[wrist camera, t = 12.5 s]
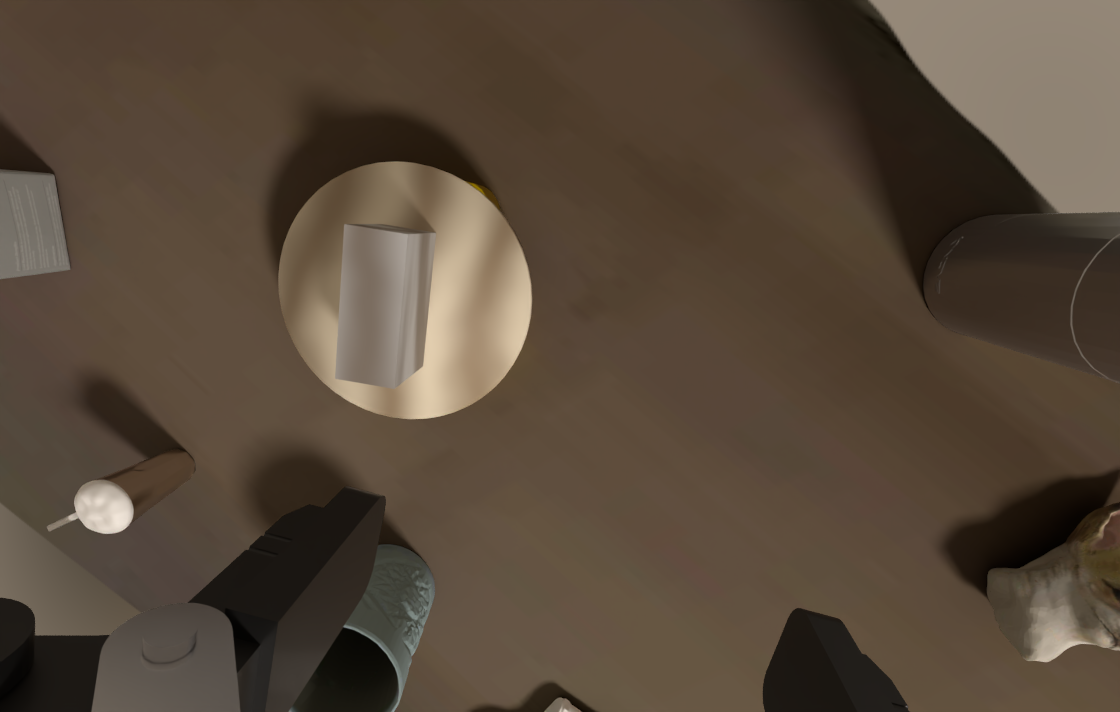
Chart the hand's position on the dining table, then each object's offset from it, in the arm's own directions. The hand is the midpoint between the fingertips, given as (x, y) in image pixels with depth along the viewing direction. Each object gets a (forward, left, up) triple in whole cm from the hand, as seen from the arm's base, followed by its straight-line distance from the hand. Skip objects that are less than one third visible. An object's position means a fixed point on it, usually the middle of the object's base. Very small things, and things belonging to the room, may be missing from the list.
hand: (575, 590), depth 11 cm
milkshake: (+34, +24, -36) cm, 55 cm away
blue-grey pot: (+12, +30, -36) cm, 49 cm away
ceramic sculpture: (-43, +12, -36) cm, 58 cm away
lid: (+14, +2, -32) cm, 35 cm away
